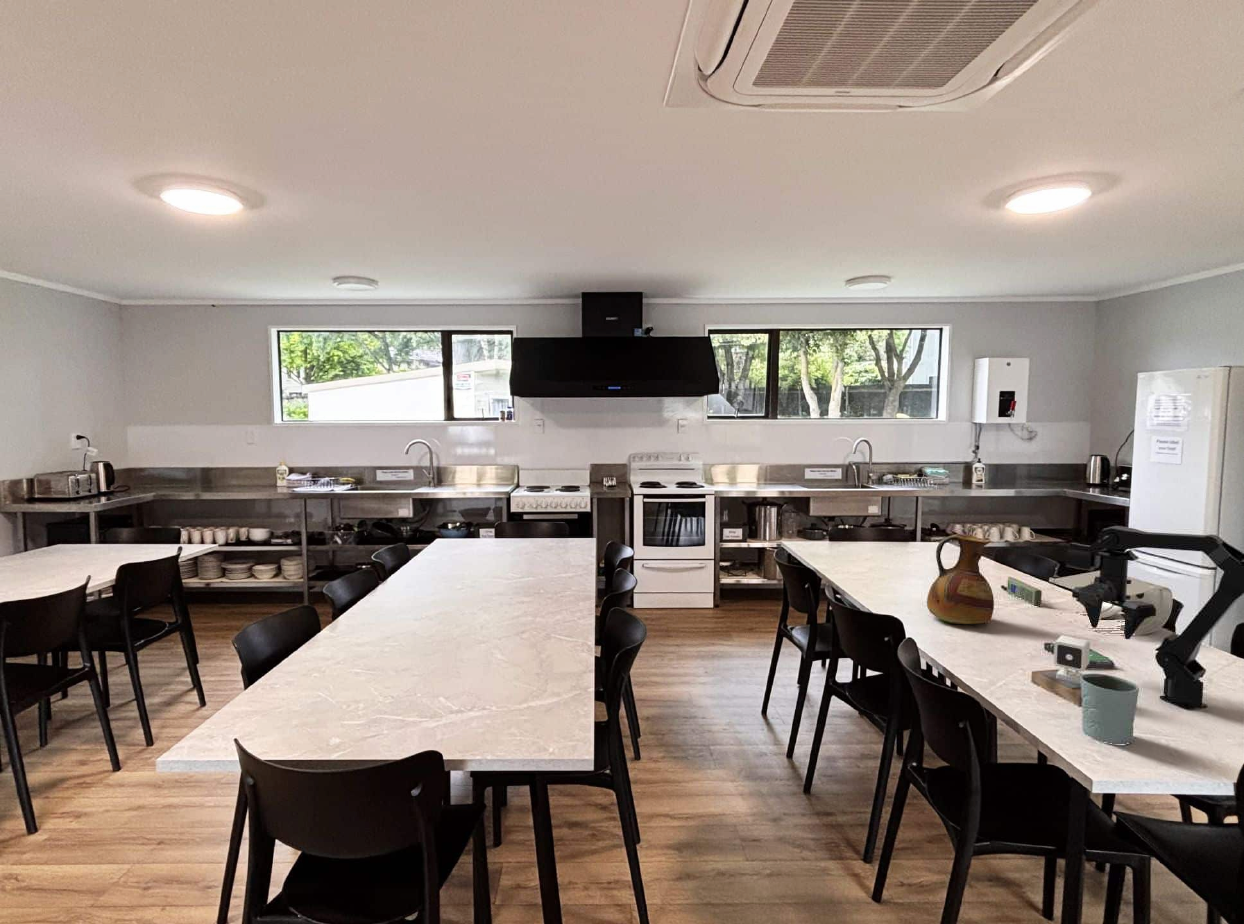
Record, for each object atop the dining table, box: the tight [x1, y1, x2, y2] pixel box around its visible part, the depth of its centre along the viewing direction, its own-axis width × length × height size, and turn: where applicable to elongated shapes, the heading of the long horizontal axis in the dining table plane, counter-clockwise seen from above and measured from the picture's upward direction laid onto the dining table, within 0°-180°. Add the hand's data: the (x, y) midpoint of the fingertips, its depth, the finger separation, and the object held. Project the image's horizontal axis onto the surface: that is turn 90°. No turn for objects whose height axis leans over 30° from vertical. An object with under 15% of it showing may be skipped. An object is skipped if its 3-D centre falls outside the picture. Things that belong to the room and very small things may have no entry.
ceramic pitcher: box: [926, 533, 995, 625], centre depth 215 cm, size 20×20×30 cm
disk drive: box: [1043, 642, 1115, 669], centre depth 181 cm, size 10×3×15 cm
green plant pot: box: [1080, 673, 1140, 744], centre depth 136 cm, size 10×10×12 cm
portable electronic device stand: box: [1048, 570, 1174, 636], centre depth 212 cm, size 26×24×16 cm
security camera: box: [1053, 635, 1091, 684], centre depth 158 cm, size 6×7×10 cm
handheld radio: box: [1000, 576, 1043, 607], centre depth 244 cm, size 7×3×25 cm
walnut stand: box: [1030, 668, 1082, 707], centre depth 158 cm, size 14×9×4 cm, turn 10°
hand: (1110, 633), depth 164 cm, fingers open, 9 cm apart
